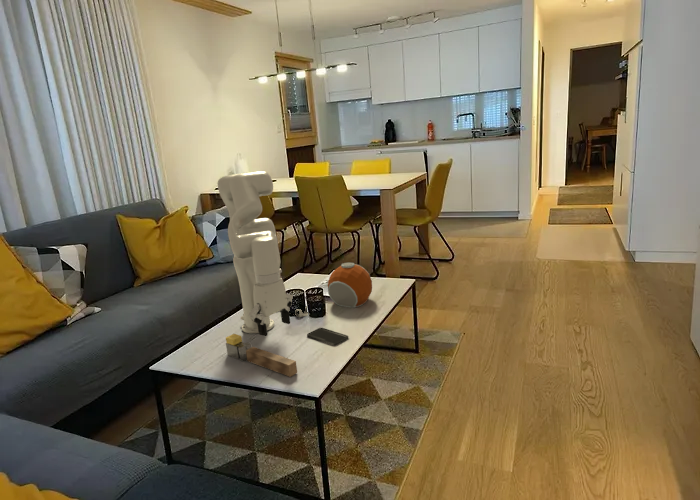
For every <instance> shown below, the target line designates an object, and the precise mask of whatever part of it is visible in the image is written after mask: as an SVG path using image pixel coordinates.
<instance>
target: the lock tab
mask: <svg viewBox="0 0 700 500" xmlns="http://www.w3.org/2000/svg"><path fill="white" fill-rule="evenodd" d="M240 342H243V337H242V335H241V334H236V333H232V334H230V335H228V336H225V344H226V343H228V344H231V345H236V344H238V343H240Z"/></svg>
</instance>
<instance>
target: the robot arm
mask: <svg viewBox="0 0 700 500" xmlns="http://www.w3.org/2000/svg"><path fill="white" fill-rule="evenodd" d="M217 189H218V194H219V196H220V199H222V201H223V204H224V205H225V207H226V209H227V211H228V215H229V223H228V227H227V235H228V239H229V240H228V241H229V244H230V248H231V251H232V254H233V258H232V260H233V261H232V262H233V266H234V269H235V272H236V275H237V281H238V285H239V291H240V297H241V304H242V305H241V306H242V311H243V314H242V315H241V316H240V320H241V321H243V324H242V326H241V331H243V332H244V333H246V334H259V335H260V336H263V337H268V331H270V330H271V329H273V328H274V326H275V321H274V320H273V319H271V318H270V316H271V315H273V314H275V313H278V312H280V316H281V318H280V319H281V322H282V323H284V324H286V325H289V324H291V317H290V313H289V311H290V307H291V305H292V299H293V294H291V293H287V290H286V286H285V283H284V280H283V278H282V276H281V273H283V270H282V269H281V268H280V267H281V256H280V254H281V253H280V250H279V240H278V236H277V233H276V232H277V230H276V227H275V225H274V222H273V220H272V219H270V218H268V217H259V216H260V215H261V214H262V212H263V204H262V202H261V199H260V197H262V196H263V197H264V196H266V197H267V196H270V195H272V194H273V191H274V182H273V179H272V177H271V175H270V174H269V172H267V171H263V170H262V171H253V172H245V173H244V172H243V173H233V174H227V175H224V176H222V177H220V178H219V179H218V181H217ZM258 217H259V218H258ZM280 310H282V311H280Z"/></svg>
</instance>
